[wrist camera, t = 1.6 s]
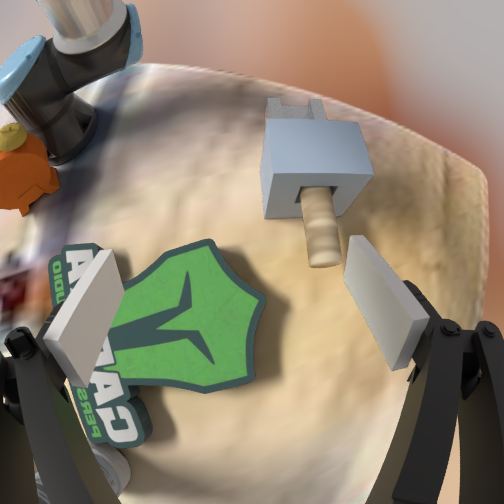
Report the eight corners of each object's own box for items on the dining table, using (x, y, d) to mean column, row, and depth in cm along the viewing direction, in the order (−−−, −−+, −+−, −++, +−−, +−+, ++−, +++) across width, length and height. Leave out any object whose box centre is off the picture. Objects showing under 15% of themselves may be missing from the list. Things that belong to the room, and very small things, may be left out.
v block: (321, 161, 46) (332, 136, 40) (268, 161, 46) (272, 135, 39) (313, 125, 49) (321, 99, 42) (263, 125, 48) (266, 97, 41)
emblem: (47, 252, 37) (232, 192, 40) (60, 259, 41) (233, 205, 44) (92, 449, 29) (301, 408, 32) (104, 441, 33) (295, 401, 37)
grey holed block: (341, 216, 44) (374, 174, 31) (264, 218, 43) (273, 173, 31) (332, 171, 46) (358, 122, 33) (260, 172, 45) (266, 118, 33)
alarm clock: (61, 161, 45) (8, 97, 26) (67, 183, 44) (6, 118, 25) (13, 198, 43) (-47, 149, 24) (17, 222, 42) (-51, 175, 22)
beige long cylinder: (337, 266, 36) (348, 258, 32) (305, 269, 36) (313, 260, 32) (316, 147, 41) (322, 130, 37) (288, 147, 41) (292, 129, 37)
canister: (98, 425, 33) (-34, 501, 5) (144, 473, 32) (67, 598, 3) (64, 452, 31) (-55, 519, 2) (106, 497, 29) (24, 598, 1)
